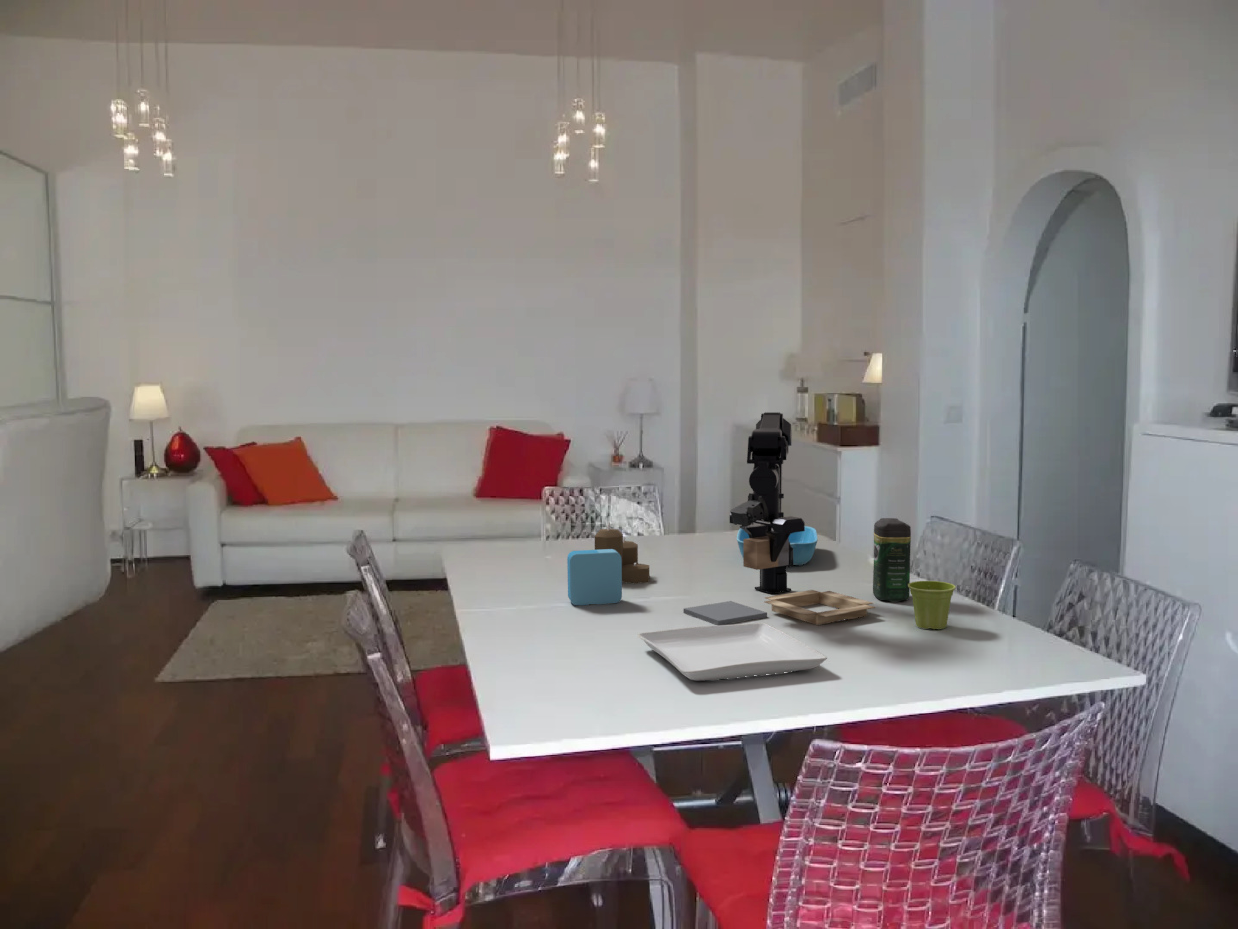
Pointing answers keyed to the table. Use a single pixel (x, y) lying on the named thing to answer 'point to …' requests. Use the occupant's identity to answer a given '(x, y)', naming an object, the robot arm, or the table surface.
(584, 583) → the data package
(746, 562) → the block
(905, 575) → the coffee jar
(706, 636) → the square plate
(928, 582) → the plant pot
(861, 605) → the wooden square frame
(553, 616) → the table surface
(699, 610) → the mat
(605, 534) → the candle
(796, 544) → the casserole dish
